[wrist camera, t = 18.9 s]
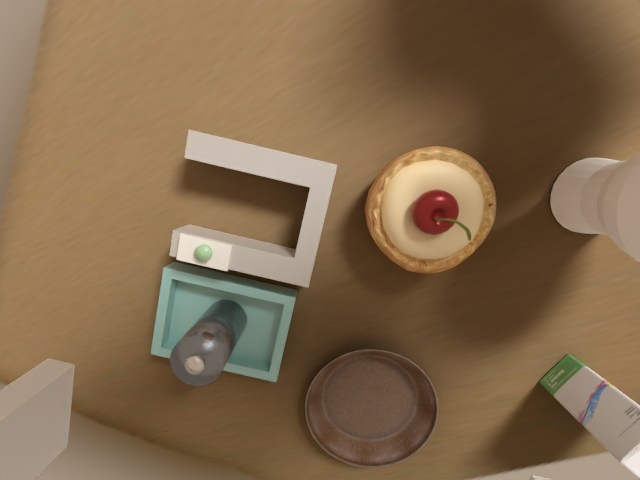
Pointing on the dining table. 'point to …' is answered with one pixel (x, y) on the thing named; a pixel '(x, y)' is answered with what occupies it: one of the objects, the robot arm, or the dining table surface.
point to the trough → (253, 296)
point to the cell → (208, 344)
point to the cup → (601, 200)
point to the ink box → (598, 409)
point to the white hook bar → (252, 253)
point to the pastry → (431, 209)
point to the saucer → (371, 408)
